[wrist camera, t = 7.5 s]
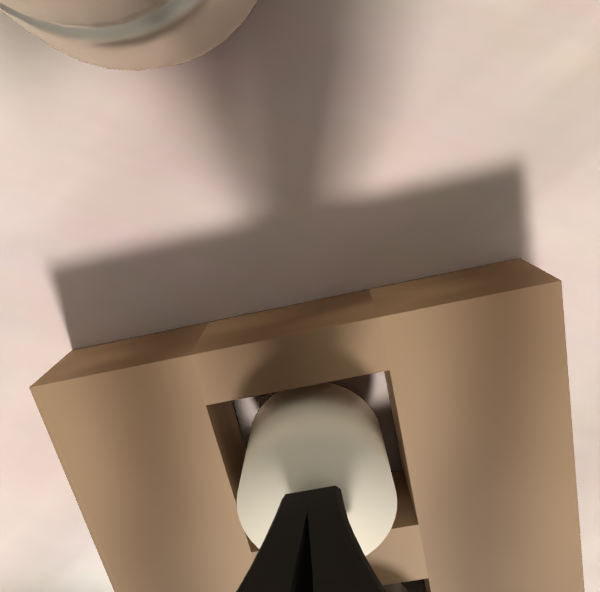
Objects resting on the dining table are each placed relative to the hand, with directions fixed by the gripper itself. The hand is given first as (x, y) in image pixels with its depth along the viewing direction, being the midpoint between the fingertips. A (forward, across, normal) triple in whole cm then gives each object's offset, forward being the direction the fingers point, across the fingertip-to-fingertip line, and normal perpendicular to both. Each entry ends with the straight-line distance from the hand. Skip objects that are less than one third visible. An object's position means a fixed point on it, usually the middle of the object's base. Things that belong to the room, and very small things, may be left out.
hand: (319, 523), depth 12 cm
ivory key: (+3, 0, 0) cm, 3 cm away
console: (+5, 0, +7) cm, 8 cm away
